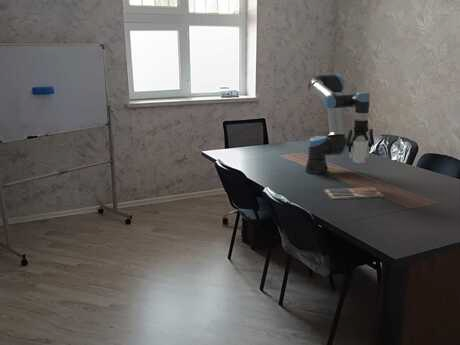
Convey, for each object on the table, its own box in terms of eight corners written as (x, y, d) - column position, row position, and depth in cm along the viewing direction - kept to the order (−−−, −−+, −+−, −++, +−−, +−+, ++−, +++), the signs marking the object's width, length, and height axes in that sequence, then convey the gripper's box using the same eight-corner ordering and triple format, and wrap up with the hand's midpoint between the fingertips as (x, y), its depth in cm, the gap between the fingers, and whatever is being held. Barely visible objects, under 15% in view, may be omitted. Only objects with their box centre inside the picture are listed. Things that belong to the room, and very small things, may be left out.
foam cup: (355, 164, 252) (357, 142, 248) (347, 160, 260) (348, 139, 257) (370, 162, 254) (371, 141, 250) (361, 159, 263) (362, 137, 259)
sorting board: (324, 190, 251) (324, 188, 251) (372, 188, 253) (373, 186, 253) (331, 199, 237) (331, 197, 236) (383, 196, 239) (383, 194, 238)
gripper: (344, 121, 246) (342, 159, 252) (382, 120, 247) (379, 158, 254) (340, 119, 253) (338, 156, 259) (377, 118, 254) (374, 155, 261)
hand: (359, 157), depth 256 cm, fingers closed on foam cup, 9 cm apart
